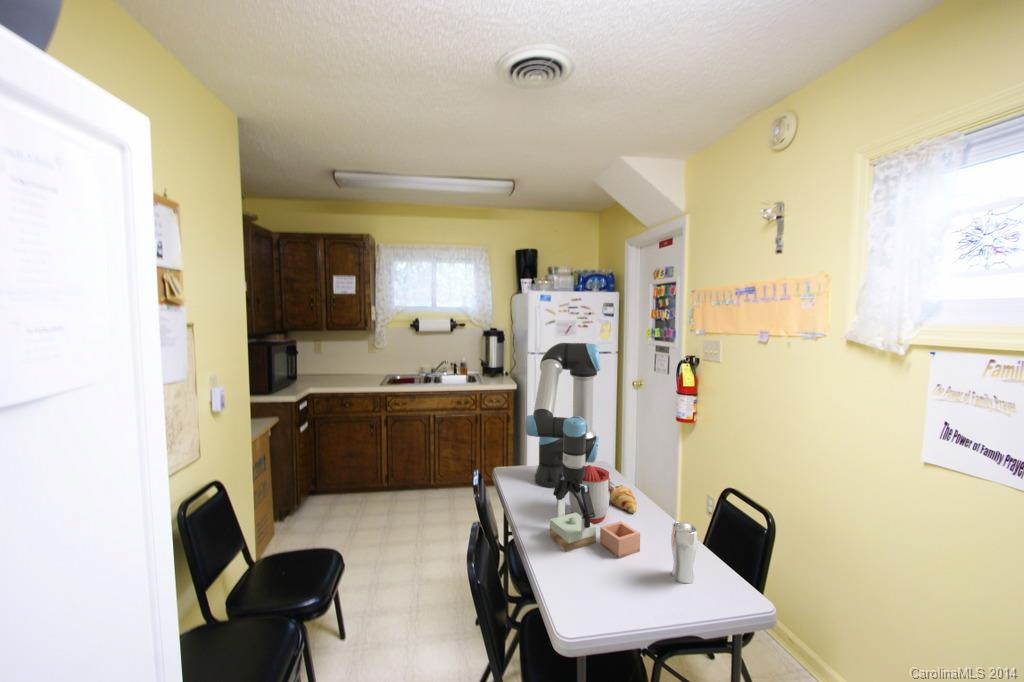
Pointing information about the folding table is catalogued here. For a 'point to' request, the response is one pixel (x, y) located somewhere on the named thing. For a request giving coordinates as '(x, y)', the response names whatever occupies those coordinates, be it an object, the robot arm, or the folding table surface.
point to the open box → (620, 539)
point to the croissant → (623, 498)
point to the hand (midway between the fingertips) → (572, 526)
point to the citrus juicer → (595, 492)
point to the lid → (570, 527)
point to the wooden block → (572, 545)
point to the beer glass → (683, 551)
